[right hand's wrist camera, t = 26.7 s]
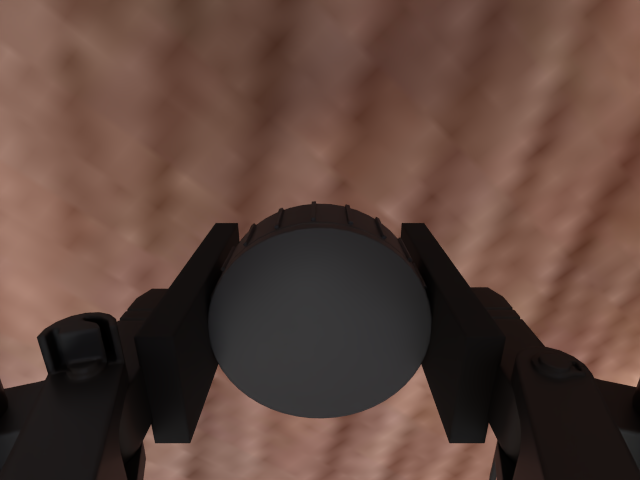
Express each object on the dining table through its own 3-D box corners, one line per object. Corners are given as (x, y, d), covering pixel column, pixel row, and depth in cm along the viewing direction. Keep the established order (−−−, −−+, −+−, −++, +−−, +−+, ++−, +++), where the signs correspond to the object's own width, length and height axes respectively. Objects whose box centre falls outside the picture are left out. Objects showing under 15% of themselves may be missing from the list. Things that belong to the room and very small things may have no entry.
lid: (224, 191, 11) (204, 213, 9) (435, 211, 11) (458, 238, 9) (221, 364, 13) (204, 411, 11) (398, 379, 13) (411, 428, 11)
